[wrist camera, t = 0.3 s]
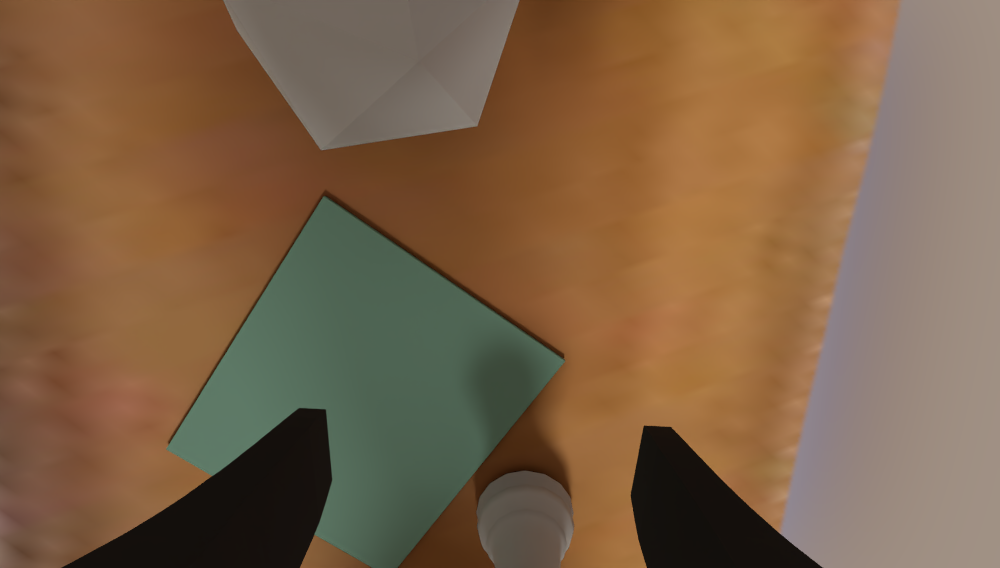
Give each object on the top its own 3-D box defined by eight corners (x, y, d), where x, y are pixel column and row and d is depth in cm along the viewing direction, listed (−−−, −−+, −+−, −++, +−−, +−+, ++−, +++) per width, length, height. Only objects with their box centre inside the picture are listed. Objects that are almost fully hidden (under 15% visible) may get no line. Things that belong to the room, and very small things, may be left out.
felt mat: (390, 574, 26) (389, 577, 26) (168, 446, 24) (166, 449, 24) (564, 359, 23) (564, 361, 23) (325, 195, 21) (323, 196, 21)
